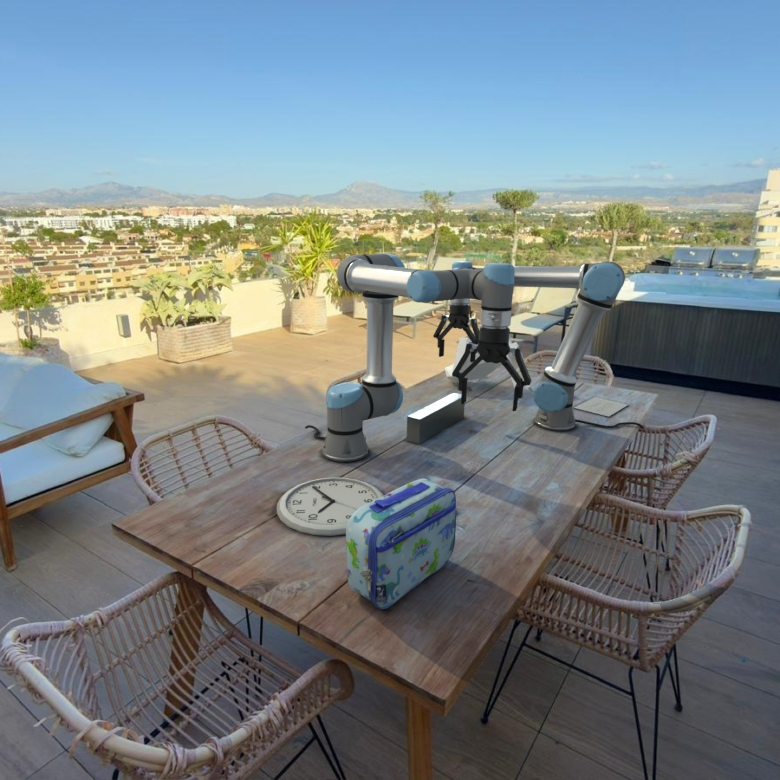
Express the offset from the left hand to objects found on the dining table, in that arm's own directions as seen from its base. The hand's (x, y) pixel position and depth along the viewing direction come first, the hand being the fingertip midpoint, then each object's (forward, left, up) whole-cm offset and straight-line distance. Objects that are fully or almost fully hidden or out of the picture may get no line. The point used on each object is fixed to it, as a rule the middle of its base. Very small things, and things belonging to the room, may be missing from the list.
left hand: (488, 406), depth 138 cm
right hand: (-34, +57, -4) cm, 66 cm away
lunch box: (-2, -42, -28) cm, 50 cm away
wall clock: (-34, -24, -28) cm, 50 cm away
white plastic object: (-38, +101, -28) cm, 111 cm away
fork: (-4, -15, -28) cm, 32 cm away
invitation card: (+14, +105, -28) cm, 110 cm away
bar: (-35, +44, -28) cm, 62 cm away
